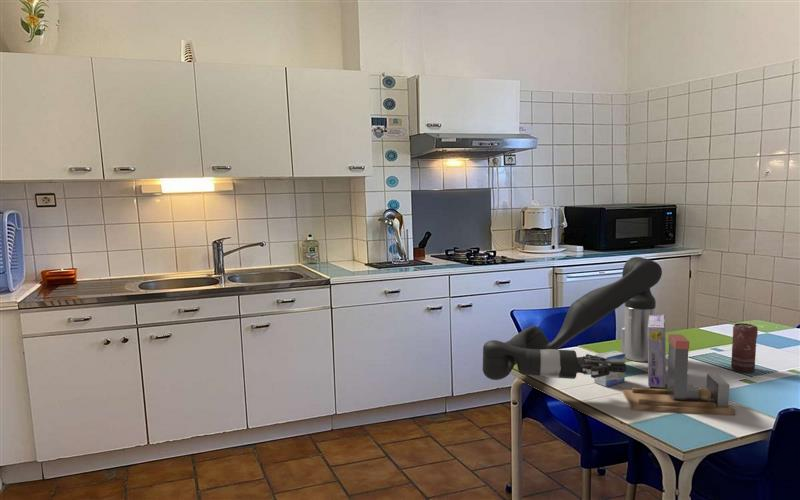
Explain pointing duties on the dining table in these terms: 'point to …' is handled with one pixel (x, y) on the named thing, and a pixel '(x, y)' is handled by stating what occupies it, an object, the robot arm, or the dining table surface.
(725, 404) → the grey stop block
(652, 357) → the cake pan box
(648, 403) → the board
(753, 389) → the dining table surface
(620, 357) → the medicine box
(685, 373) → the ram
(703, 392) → the walnut
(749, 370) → the can
